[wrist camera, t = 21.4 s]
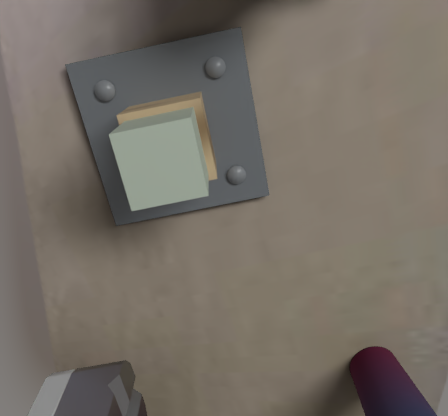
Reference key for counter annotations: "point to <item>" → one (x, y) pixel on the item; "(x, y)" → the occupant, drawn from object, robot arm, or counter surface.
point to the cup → (386, 385)
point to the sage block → (161, 159)
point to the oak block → (173, 105)
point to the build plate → (167, 88)
